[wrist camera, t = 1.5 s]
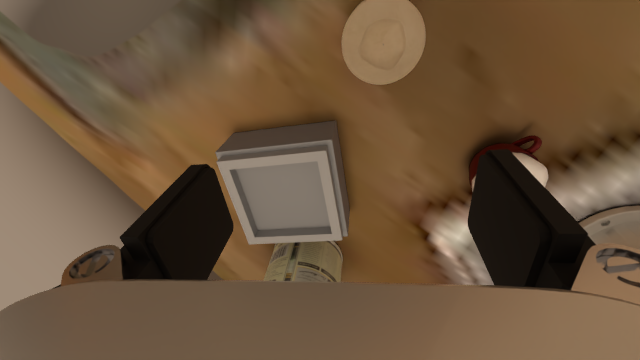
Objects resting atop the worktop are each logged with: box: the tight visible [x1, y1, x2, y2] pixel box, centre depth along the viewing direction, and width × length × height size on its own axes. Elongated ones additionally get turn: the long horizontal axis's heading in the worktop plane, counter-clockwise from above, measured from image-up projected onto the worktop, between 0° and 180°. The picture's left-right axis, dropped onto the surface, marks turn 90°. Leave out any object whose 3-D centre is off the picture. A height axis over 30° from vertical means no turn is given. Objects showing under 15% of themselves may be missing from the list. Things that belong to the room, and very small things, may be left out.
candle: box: [341, 0, 426, 85], centre depth 23 cm, size 6×6×10 cm
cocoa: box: [469, 136, 548, 191], centre depth 27 cm, size 10×6×12 cm, turn 132°
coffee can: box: [263, 241, 343, 282], centre depth 37 cm, size 10×10×14 cm
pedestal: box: [215, 121, 350, 244], centre depth 34 cm, size 12×12×6 cm
